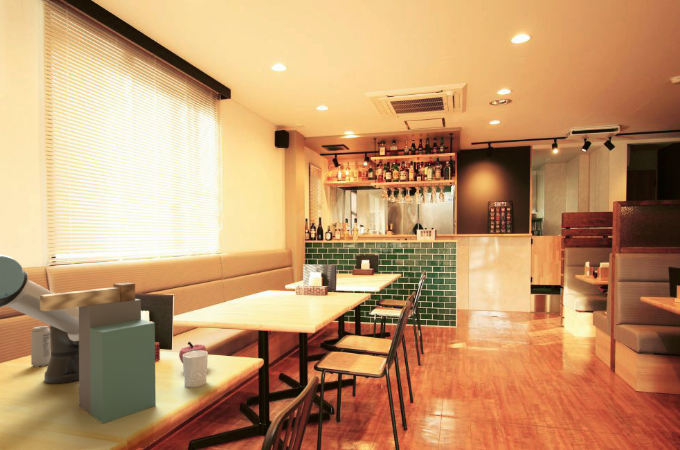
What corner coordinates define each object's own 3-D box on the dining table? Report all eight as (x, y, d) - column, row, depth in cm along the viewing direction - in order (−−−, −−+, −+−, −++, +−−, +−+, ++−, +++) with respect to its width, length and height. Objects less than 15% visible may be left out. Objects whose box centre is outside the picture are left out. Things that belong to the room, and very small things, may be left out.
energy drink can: (37, 363, 160) (37, 325, 161) (53, 362, 161) (53, 325, 161) (27, 368, 154) (27, 329, 155) (44, 367, 155) (44, 328, 155)
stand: (103, 423, 106) (102, 309, 107) (79, 406, 118) (78, 303, 118) (155, 405, 117) (154, 302, 118) (129, 391, 128) (128, 297, 129)
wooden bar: (45, 311, 106) (45, 292, 106) (39, 309, 110) (38, 291, 110) (135, 299, 123) (135, 283, 124) (127, 298, 127) (126, 282, 127)
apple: (177, 374, 143) (177, 346, 144) (181, 366, 152) (180, 340, 152) (205, 371, 146) (205, 343, 146) (207, 364, 154) (207, 338, 154)
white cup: (200, 389, 129) (199, 357, 129) (178, 387, 130) (177, 356, 131) (212, 380, 136) (212, 350, 137) (191, 379, 138) (191, 350, 138)
